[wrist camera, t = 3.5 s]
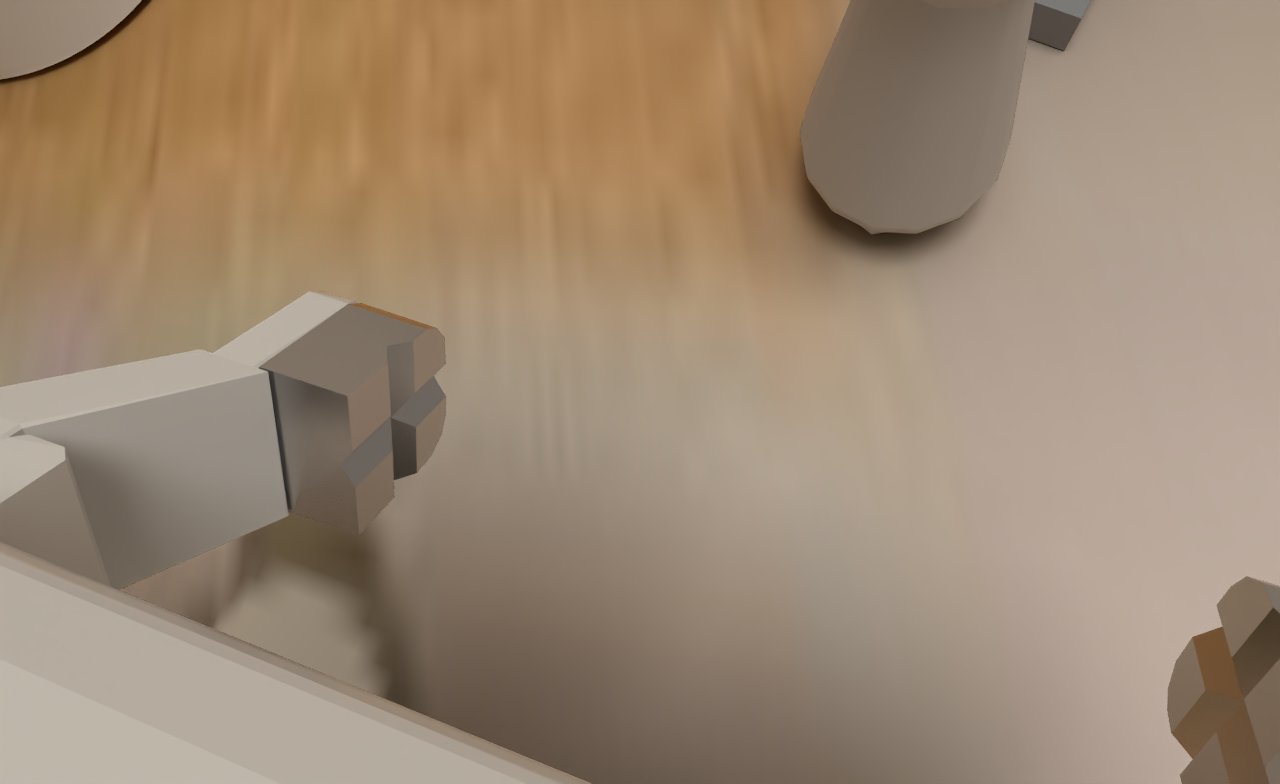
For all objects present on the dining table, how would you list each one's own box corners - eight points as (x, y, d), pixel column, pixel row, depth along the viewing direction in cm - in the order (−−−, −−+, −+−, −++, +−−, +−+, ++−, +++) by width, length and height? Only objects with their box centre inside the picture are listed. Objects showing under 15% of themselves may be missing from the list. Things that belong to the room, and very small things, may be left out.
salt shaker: (830, 72, 28) (880, -341, 16) (1008, 114, 27) (1219, -298, 14) (774, 233, 27) (779, -70, 15) (956, 283, 26) (1131, 2, 13)
